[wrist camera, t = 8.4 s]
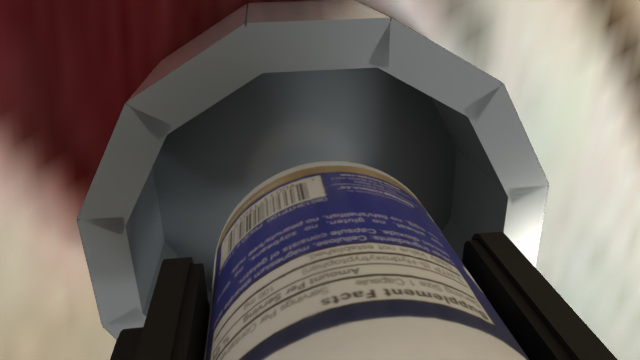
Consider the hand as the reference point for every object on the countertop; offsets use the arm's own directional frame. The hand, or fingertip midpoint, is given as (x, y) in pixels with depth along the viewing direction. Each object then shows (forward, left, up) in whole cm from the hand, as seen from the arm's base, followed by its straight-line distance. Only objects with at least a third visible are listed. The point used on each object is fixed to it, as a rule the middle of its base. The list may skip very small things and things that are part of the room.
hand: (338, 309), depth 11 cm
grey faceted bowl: (0, 0, -7) cm, 7 cm away
